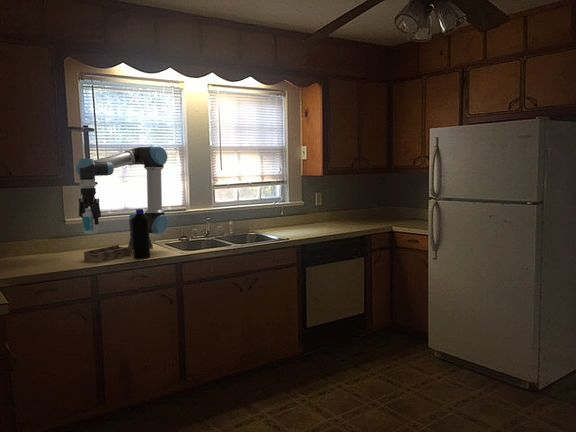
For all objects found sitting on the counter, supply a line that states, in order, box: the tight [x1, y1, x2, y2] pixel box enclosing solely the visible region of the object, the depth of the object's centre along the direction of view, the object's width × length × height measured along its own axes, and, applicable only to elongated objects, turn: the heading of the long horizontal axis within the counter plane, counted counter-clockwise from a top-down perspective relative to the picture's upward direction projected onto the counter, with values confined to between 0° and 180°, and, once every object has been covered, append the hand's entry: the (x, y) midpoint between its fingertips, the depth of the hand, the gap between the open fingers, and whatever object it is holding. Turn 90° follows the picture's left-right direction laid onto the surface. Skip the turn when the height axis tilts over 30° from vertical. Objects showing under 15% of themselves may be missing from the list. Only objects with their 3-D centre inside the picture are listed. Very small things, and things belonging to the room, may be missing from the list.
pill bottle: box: [82, 207, 99, 235], centre depth 265 cm, size 8×7×14 cm
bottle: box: [132, 208, 151, 260], centre depth 283 cm, size 9×9×28 cm
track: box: [83, 244, 134, 263], centre depth 286 cm, size 24×13×5 cm, turn 151°
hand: (90, 230), depth 265 cm, fingers closed on pill bottle, 7 cm apart
